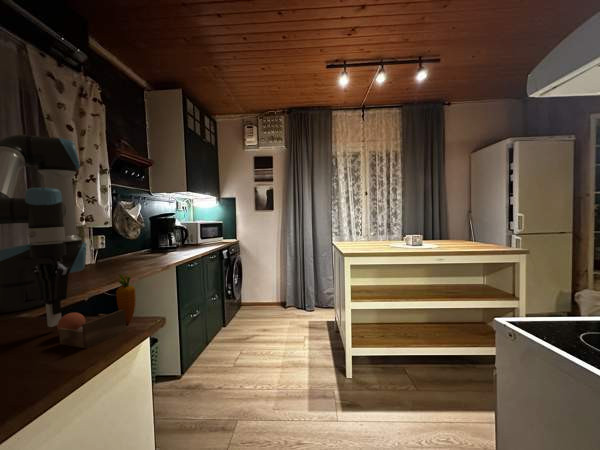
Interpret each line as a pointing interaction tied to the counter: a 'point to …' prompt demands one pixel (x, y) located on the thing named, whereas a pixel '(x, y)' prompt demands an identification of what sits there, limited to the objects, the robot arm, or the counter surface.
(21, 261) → the robot arm
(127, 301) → the carrot
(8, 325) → the counter surface
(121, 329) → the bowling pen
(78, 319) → the ball
